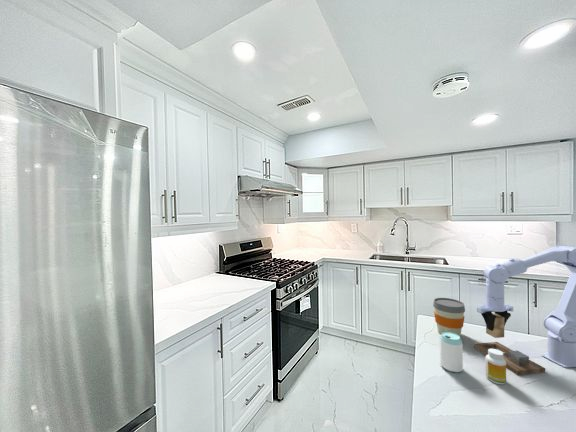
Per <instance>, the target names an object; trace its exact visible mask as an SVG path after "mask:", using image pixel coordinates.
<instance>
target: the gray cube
mask: <svg viewBox="0 0 576 432" xmlns="http://www.w3.org/2000/svg"><path fill="white" fill-rule="evenodd" d="M508 359H509V360H510V361H512V362H514V363H515V364H517V365H519V366H521V365H529V360H530V356H529V355H527V354H525V353H523V352H521V351H519V350H513V351H508Z"/></svg>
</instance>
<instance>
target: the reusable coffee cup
mask: <svg viewBox="0 0 576 432" xmlns="http://www.w3.org/2000/svg"><path fill="white" fill-rule="evenodd" d="M432 304H433V308H434V311H433V314H434V321H435V323H436V328H437V333H438V334H439V335H440V336H441V335H442V333H443V332H451V333H454V334H457V335H458V336H460V337H461V335H462V328H463V327H464V323H465V312H466V307H465V304H464V302H462V301H460V300H458V299H454V298H450V297H449V298H448V297H436V298H434V299H433V303H432Z"/></svg>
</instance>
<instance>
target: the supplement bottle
mask: <svg viewBox="0 0 576 432" xmlns="http://www.w3.org/2000/svg"><path fill="white" fill-rule="evenodd" d="M487 349H488V355H485V377H486V379H487V380H488V381H490V382H492V383H493V384H497V385H505V384H507V368H506V361H505V360H504V359H503V353H504V352H503V351H501V350H499V349H497V348H487Z"/></svg>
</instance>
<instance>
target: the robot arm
mask: <svg viewBox="0 0 576 432" xmlns="http://www.w3.org/2000/svg"><path fill="white" fill-rule="evenodd" d="M549 262H557V263H558V262H559V263H562V264H563V265H564V266H565V267H566V268H567V269H568V270H569V271H570V274H569V277H568V279H567V282H566V284H565V287H564V290H563V293H562V294H561V297H560V300H559V302H558V305H557V307H556V309H554V310H552V311H550V312H549V314H548V315H547V316H546V317H544V319H543V323H542V324H543V326H544V328H545V329H546V332H547V353H541V354H540V356H542V357H543V358H545V359H547V360H549V361H552V362H553V363H555V364H557V365H559V366H561V367H563V368H568V369H569V368H576V247H575V246H570V245H569V246H568V245H566V244H559V245H556V246H552V247H549V248H547V249H545V250H543V251H540V252H538V253H536V254H533V255H531V256H530V255H529V256H528V257H526V258H523V259H518V258H509V259H508V260H507V261H505V262H502V263H496V264H495V265H488V266H486V267H485V268H484V270H483V271H482V274H483V276H484V278H485V303H484V304H483V305H481V306H477V307H476V312H477V313H479V314H481V316H482V318H483V320H484V322H485V327H486V326H487V329H489V330H491V331H493V329H494V321H495V318H496V317H497V316H496V315H493V314H494V313H495V314H497V315H500V316H502V317H504V327H505V326H506V324H507V322H508V320H509V319H510V318H511V317H512V316H511V315H512V313H510V312H514V306H513V305H511V304H510V305H509V304H505V282H506V281H507V280H508V278H512V277H514V276H515V277H516V276H518V275H521V274H524V273H527V270H528V268H532V267H535V266H539V265H543V264H546V263H549Z"/></svg>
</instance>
